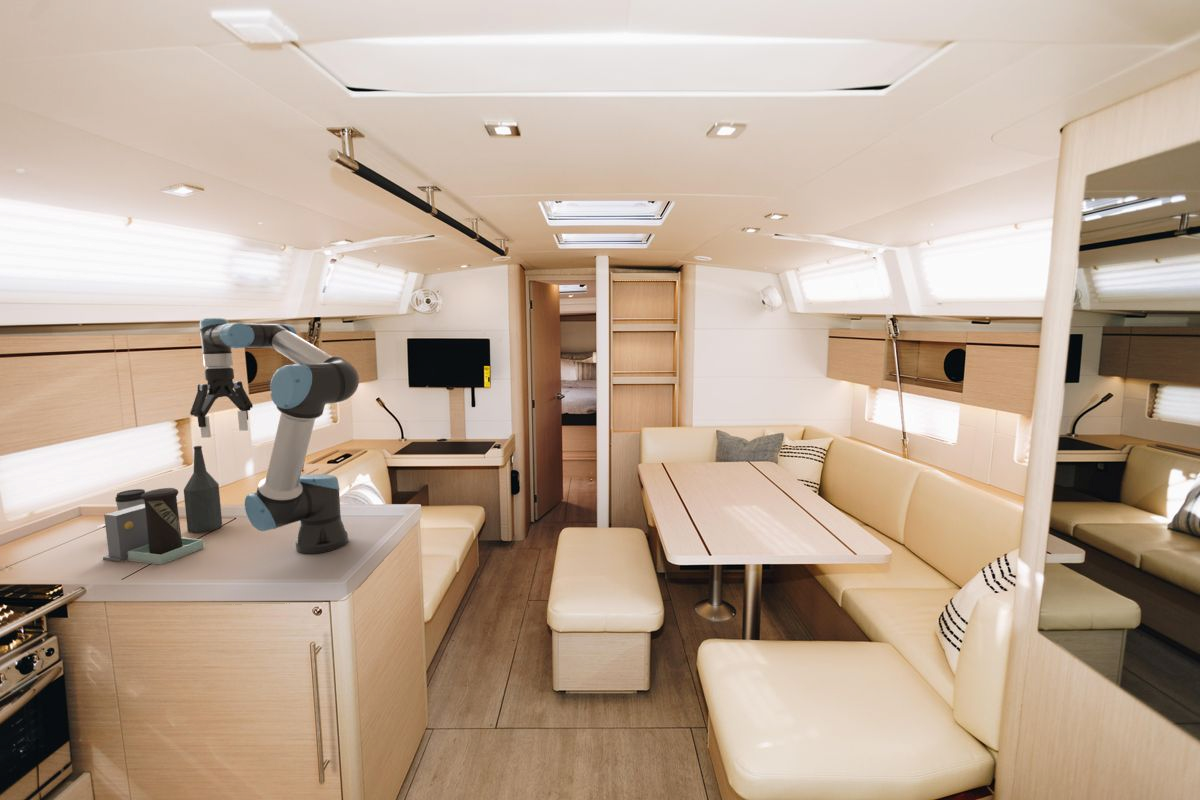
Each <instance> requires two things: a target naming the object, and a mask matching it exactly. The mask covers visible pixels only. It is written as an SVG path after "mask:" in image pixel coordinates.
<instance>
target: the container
mask: <svg viewBox="0 0 1200 800" xmlns="http://www.w3.org/2000/svg"><path fill="white" fill-rule="evenodd" d="M178 494H179V490H178V489H177V488H175V487H166V488H158V489H157V488H156V489H152V490H148V491H145V493H144V494H143V495H142V496H141V497H142V499H143V500H144V501H145V510H146V520H147V530H148V542H149V553H151V554H159V555H161V554H164V553H167V552H169V551H172V550H175V549H177V548H180V547H182V538H181V537H182V530H181V525H180V524H181V523H180V522H181V521H180V516H179V515H180V514H179V509H178V507H179V506H178V498H177V496H178Z"/></svg>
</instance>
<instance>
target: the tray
mask: <svg viewBox="0 0 1200 800" xmlns="http://www.w3.org/2000/svg"><path fill="white" fill-rule="evenodd" d="M181 538H182V547H180V548H177V549H175V550H172V551H169V552H167V553H164V554H161V555H159V554H151V553H149V544H148V545H145V546H142V547H139V548H136V549H134V550H131V551H128V559H127V561H131V562H137V563H138V562H139V563H146V564H152V565H153V564H154V565H161V566H162V565H164V564H166V563H169V562H171V561H174V560H177V559H180V558H182V557H185V556H187V555H190V554H192V553H194V552H197V551H200V550H202V549H204V548H205V547H204V539H199V538H192V537H191V538H190V537H182V536H181Z"/></svg>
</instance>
